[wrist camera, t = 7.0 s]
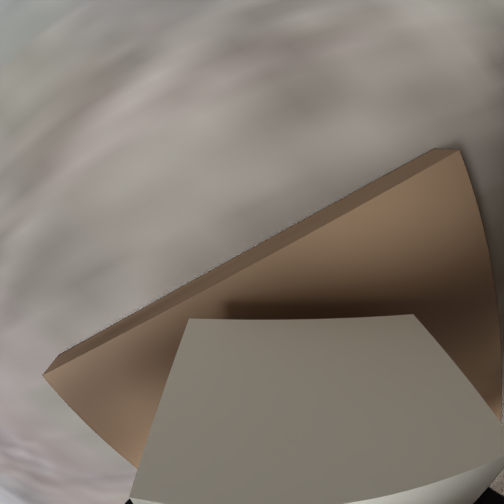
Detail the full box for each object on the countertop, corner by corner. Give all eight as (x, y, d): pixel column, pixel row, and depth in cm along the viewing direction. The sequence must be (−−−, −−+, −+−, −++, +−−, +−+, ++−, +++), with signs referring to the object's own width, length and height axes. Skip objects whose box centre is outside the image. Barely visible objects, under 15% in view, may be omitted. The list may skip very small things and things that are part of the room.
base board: (486, 449, 14) (495, 463, 12) (278, 537, 16) (278, 553, 15) (433, 148, 9) (459, 150, 7) (58, 355, 11) (41, 375, 10)
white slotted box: (412, 314, 8) (523, 455, 3) (357, 478, 10) (383, 583, 5) (188, 318, 8) (125, 508, 3) (211, 485, 10) (200, 597, 5)
